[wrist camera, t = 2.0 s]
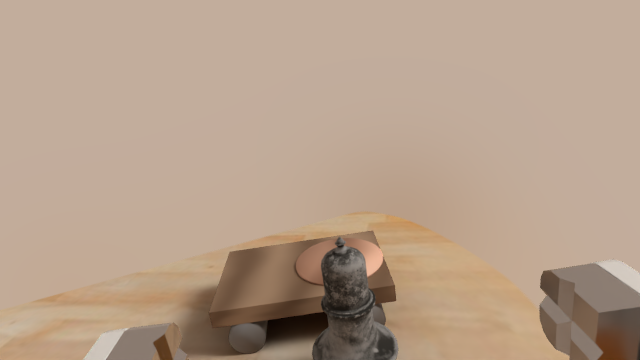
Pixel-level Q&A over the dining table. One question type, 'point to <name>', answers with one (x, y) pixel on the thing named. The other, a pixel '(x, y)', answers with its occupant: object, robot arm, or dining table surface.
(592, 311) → the robot arm
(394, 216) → the dining table surface
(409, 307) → the dining table surface
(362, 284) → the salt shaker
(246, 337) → the roller slab
